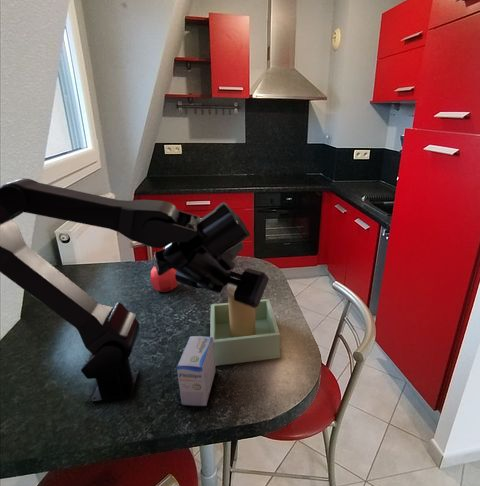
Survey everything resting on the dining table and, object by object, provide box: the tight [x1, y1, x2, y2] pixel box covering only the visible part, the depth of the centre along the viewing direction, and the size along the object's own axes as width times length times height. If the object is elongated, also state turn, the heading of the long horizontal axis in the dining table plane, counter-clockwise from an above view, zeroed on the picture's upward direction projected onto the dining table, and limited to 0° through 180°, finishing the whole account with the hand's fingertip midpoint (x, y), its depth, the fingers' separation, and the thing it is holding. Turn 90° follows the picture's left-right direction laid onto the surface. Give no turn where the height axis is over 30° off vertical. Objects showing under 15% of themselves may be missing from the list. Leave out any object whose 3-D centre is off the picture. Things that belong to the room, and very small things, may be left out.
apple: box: [150, 265, 179, 293], centre depth 91 cm, size 8×8×8 cm
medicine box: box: [176, 335, 216, 407], centre depth 57 cm, size 8×4×9 cm, turn 178°
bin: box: [209, 298, 281, 367], centre depth 70 cm, size 14×14×6 cm
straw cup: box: [226, 284, 256, 338], centre depth 69 cm, size 6×6×15 cm
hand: (239, 291), depth 67 cm, fingers open, 9 cm apart
